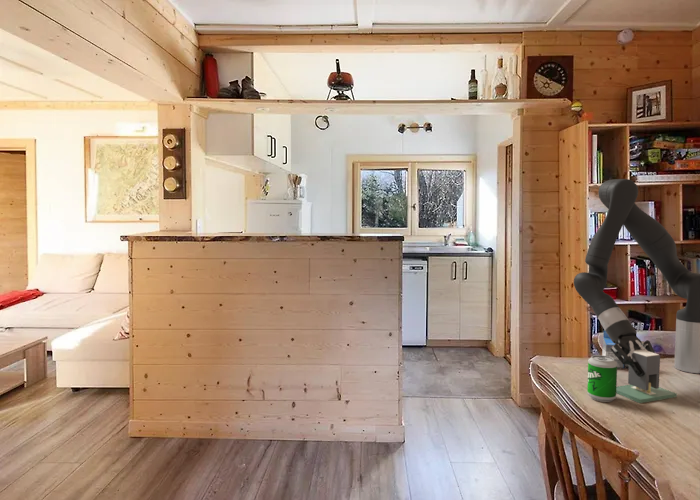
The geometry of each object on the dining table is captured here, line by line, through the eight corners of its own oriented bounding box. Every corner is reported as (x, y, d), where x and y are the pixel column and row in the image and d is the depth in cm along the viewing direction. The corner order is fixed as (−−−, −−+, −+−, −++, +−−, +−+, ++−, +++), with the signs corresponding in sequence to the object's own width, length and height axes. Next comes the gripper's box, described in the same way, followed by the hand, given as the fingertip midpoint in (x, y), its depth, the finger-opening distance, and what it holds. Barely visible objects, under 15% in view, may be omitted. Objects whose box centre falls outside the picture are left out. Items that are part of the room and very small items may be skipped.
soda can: (613, 394, 141) (614, 355, 140) (618, 404, 134) (619, 363, 133) (585, 392, 143) (586, 353, 142) (589, 401, 136) (590, 360, 135)
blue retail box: (605, 367, 165) (606, 333, 164) (601, 364, 169) (602, 330, 168) (633, 369, 163) (634, 334, 162) (629, 365, 167) (630, 331, 166)
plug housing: (640, 381, 145) (642, 348, 144) (658, 388, 139) (660, 354, 138) (628, 383, 143) (629, 350, 143) (645, 390, 138) (647, 356, 137)
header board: (646, 385, 148) (646, 372, 148) (676, 396, 139) (677, 383, 138) (610, 390, 144) (611, 377, 144) (639, 403, 135) (640, 389, 134)
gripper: (605, 320, 145) (638, 371, 134) (641, 316, 149) (676, 365, 138) (591, 333, 150) (622, 383, 140) (626, 329, 154) (659, 377, 144)
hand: (649, 374), depth 139 cm, fingers closed on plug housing, 5 cm apart
